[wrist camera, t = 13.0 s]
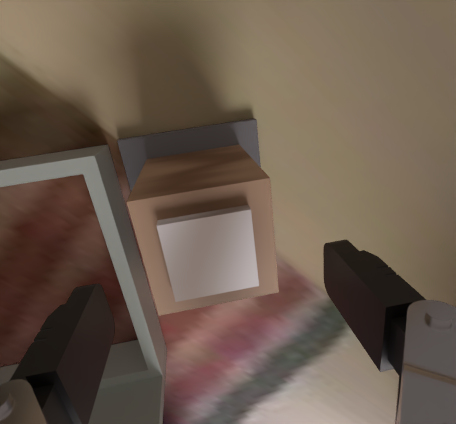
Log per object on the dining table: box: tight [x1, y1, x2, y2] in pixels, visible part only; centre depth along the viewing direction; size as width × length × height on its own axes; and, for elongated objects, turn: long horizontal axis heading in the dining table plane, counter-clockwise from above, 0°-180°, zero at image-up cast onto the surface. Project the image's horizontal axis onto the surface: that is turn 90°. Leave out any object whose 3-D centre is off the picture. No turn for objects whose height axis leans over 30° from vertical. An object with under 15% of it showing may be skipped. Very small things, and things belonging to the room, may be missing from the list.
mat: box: [117, 119, 261, 191], centre depth 19 cm, size 8×8×1 cm
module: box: [127, 145, 279, 316], centre depth 16 cm, size 6×6×8 cm
